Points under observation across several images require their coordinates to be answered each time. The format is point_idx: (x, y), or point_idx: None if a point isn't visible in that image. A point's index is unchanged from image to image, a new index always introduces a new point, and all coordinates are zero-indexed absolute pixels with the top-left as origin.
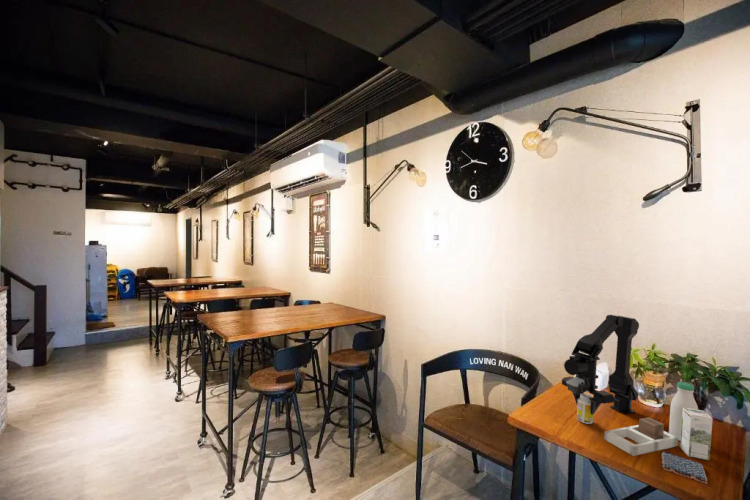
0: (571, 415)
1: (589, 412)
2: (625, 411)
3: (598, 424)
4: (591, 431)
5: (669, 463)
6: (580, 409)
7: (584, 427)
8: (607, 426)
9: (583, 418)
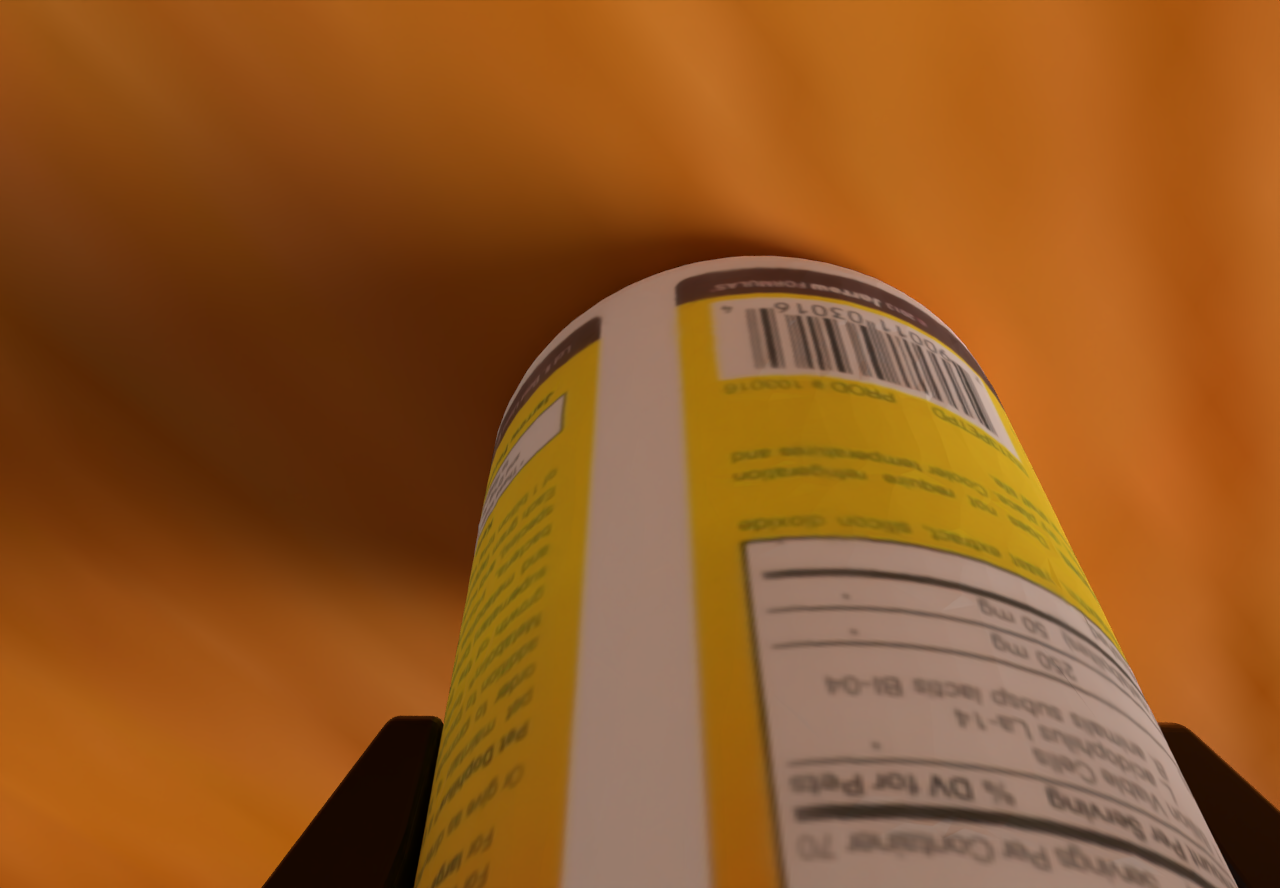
0: (1215, 357)
1: (446, 738)
2: None
3: None
4: (26, 29)
5: None
6: (811, 585)
7: (355, 30)
8: (337, 734)
9: (619, 363)
